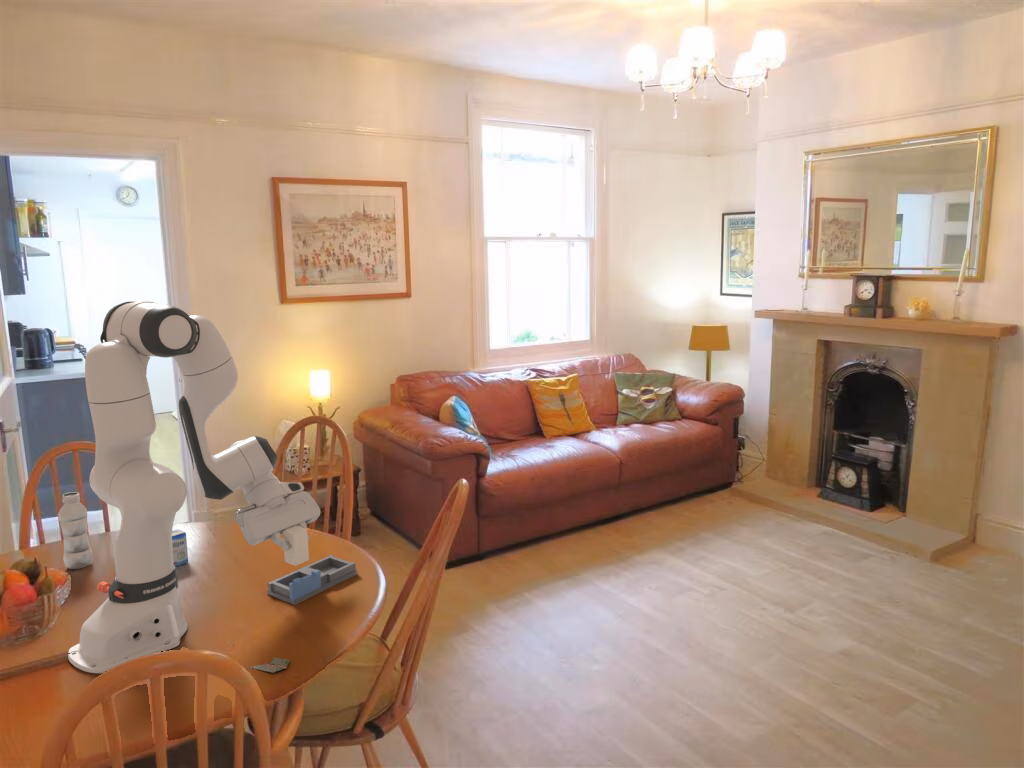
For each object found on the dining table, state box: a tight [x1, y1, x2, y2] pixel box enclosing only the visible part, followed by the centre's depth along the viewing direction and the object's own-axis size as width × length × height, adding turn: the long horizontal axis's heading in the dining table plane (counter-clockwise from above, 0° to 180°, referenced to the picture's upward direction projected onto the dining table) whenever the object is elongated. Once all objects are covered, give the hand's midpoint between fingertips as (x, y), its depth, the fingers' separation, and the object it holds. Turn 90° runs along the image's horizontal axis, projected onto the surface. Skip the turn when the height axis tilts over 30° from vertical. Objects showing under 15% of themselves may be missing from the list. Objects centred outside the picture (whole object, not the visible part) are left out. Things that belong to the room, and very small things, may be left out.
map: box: [232, 643, 291, 673], centre depth 145 cm, size 5×20×1 cm, turn 65°
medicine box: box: [172, 529, 189, 568], centre depth 187 cm, size 8×4×9 cm, turn 143°
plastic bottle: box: [57, 491, 94, 570], centre depth 185 cm, size 6×7×20 cm
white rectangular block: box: [282, 526, 310, 567], centre depth 172 cm, size 4×4×8 cm
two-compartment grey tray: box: [266, 554, 358, 606], centre depth 177 cm, size 20×11×6 cm, turn 146°
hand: (297, 545), depth 171 cm, fingers closed on white rectangular block, 4 cm apart
